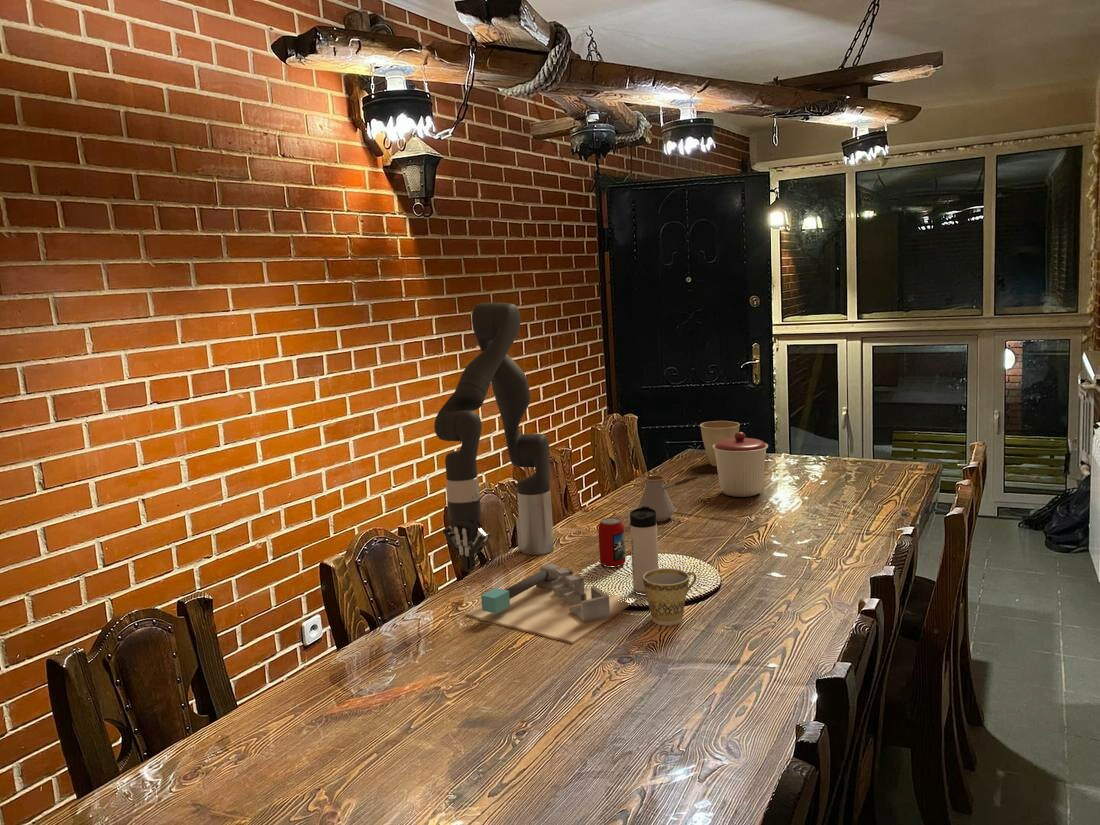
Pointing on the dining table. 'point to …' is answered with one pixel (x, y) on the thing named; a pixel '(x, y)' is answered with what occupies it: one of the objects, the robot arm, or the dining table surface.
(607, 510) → the dining table surface
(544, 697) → the dining table surface
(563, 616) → the board
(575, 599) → the clip
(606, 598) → the end holder
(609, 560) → the beverage can
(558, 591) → the clip
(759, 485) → the canister
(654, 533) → the travel mug
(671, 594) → the ceramic cup
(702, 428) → the plant pot
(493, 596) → the cable arm
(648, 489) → the coffee pot
